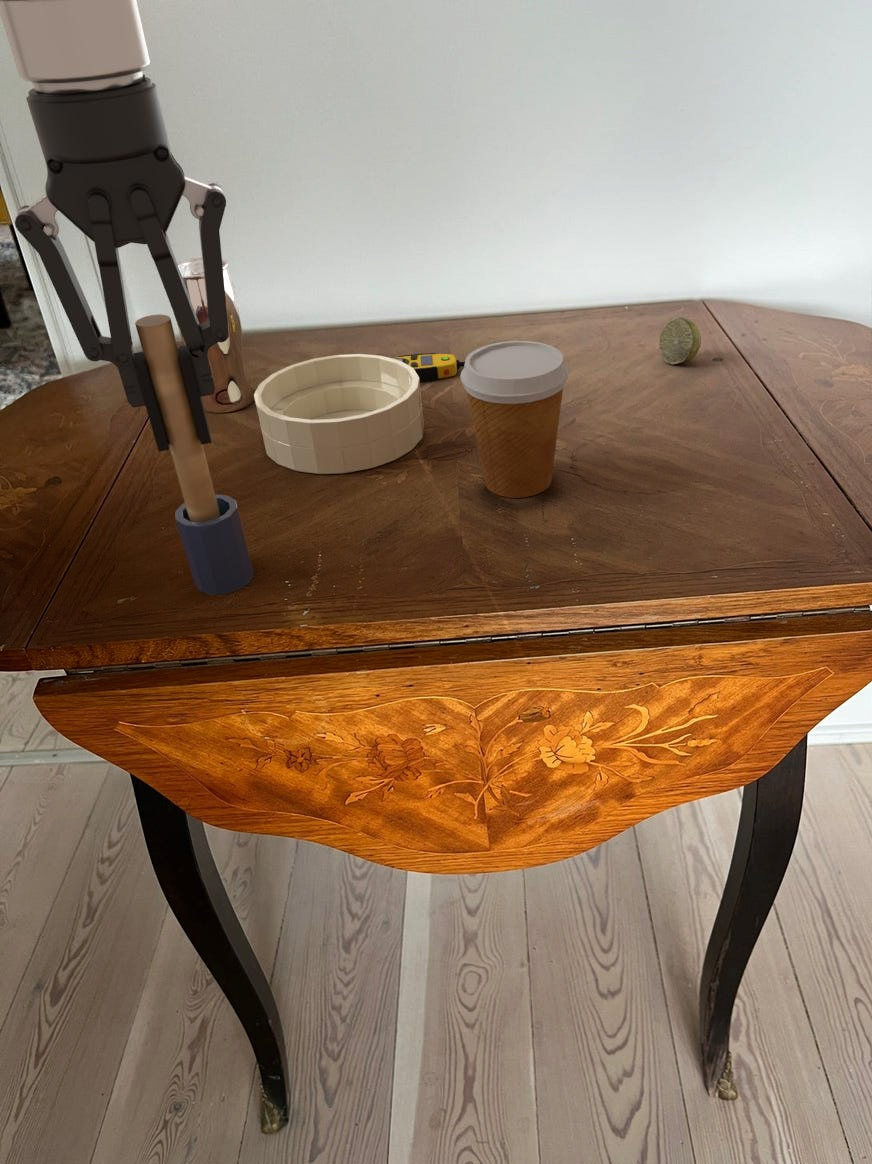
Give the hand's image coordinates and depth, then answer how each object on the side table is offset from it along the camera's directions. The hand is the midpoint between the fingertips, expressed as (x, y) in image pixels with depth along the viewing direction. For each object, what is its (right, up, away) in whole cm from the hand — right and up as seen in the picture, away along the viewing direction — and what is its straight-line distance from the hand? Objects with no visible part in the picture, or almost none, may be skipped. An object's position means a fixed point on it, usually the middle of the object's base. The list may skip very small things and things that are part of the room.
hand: (184, 438), depth 71 cm
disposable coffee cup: (+26, 0, +19) cm, 32 cm away
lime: (+45, +17, +39) cm, 62 cm away
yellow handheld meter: (+18, +16, +40) cm, 47 cm away
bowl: (+8, +6, +27) cm, 29 cm away
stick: (+1, -9, +7) cm, 11 cm away
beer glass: (-6, +12, +37) cm, 39 cm away
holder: (+1, -10, +8) cm, 13 cm away
